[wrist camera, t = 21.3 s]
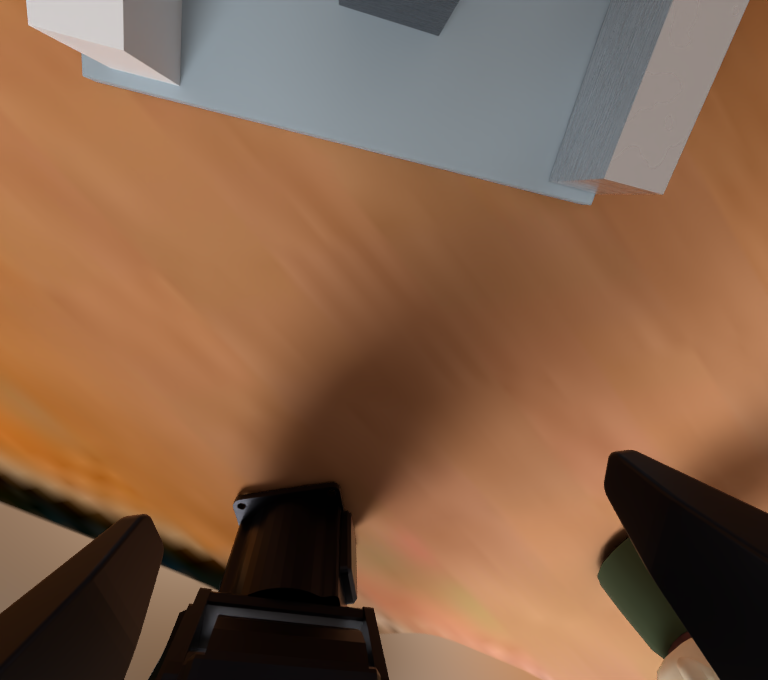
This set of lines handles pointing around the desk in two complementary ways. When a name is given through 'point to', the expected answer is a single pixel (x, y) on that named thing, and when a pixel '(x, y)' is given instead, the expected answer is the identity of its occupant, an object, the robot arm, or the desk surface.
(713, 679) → the character mug
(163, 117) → the desk surface
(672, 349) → the desk surface
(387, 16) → the steel block
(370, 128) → the vise base
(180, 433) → the desk surface
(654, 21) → the bar
